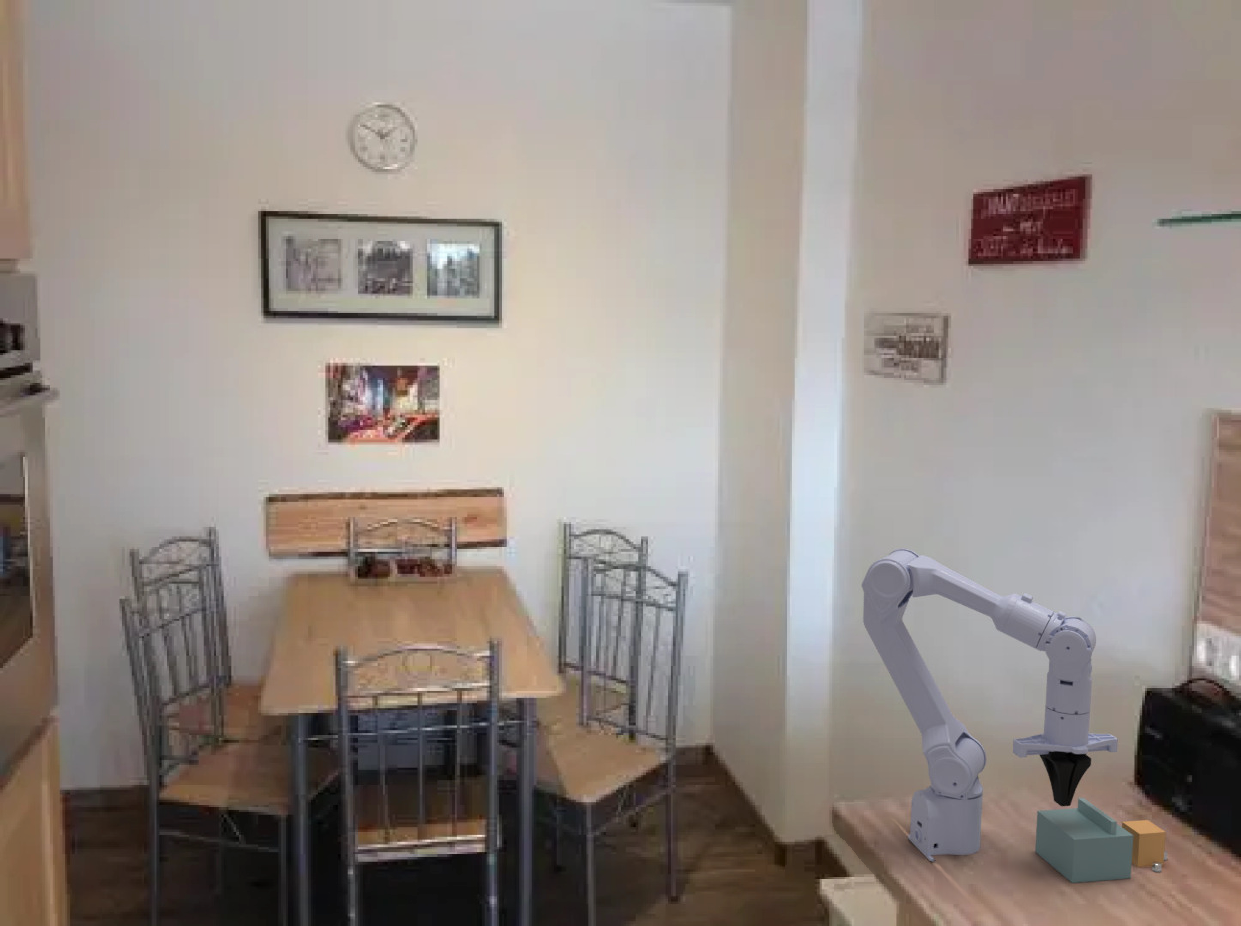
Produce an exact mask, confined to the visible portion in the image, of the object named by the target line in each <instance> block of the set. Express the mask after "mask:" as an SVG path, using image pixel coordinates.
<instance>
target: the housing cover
mask: <svg viewBox="0 0 1241 926" xmlns="http://www.w3.org/2000/svg"><path fill="white" fill-rule="evenodd" d="M1036 812H1037V813H1036V831H1035V832H1036V833H1035V848H1034V849H1035V850H1034V853H1036V854H1037V855H1039V857H1040V858H1041V859H1043V860H1044V861H1045V862H1046V863H1048V865H1050V866H1051V867H1053V868H1054V869H1055V870H1056V871H1057V872H1058V873H1059V874H1061V875H1062V876H1063V877H1064V878H1065V879H1066V880H1068V881H1069V882H1070V883H1072V884H1076V883H1088V882H1101V881H1115V880H1125V879H1126V880H1128V879H1131V876H1132V875H1131V873H1132V848H1133V835H1132V834H1131V833H1129V832H1128V831H1126V830H1125V829H1124V828H1122V825H1119V824H1118V821H1117V820H1115V819H1114V818H1113V817H1111V816H1110V815H1108V814H1107V813H1105V812H1104V811H1102V810H1101V809H1100V808H1099V807H1097V806H1096V805H1094V804H1093V803H1091V802H1090V801H1089V800H1087V799H1085V798H1084V797H1077V808H1076V807H1075V808H1072V807H1071V808H1059V809H1045V810H1037V811H1036Z"/></svg>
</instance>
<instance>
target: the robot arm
mask: <svg viewBox="0 0 1241 926" xmlns="http://www.w3.org/2000/svg"><path fill="white" fill-rule="evenodd" d="M861 588H862V591H863V617H862V619H863V621H862V622H863V625H864V628H865V630H866V631H867V633H868V635H869V637H870V639H871V642H872V643H873V645H874V646H875V649H876V651H877V652H878V655H879V656H880V658H881V660H882V662H883V664H884V666H885V667H886V670H887V671H888V673H889V675H890V677H891V679H892V681H893V683H894V684H895V687H896V688H897V690H898V692H899V694H900V696H901V698H902V699H903V702H904V703H905V705H906V708H907V709H908V711H909V713H910V715H911V717H912V719H913V721H914V722H915V725H916V726H917V728H918V730H919V732H920V734H921V745H922V746H921V747H922V753H923V755H924V757H925V759H926V760H925V761H926V763H927V766H928V769H927V770H928V771H927V773H928V778H929V780H930V785H929V786H928V787H926V788H923V789H920V790H919V789H918V790H916V791H914V793H913V794H912V798H911V806H910V807H911V808H910V827H909V828H910V830H909V831H910V832H909V834H908V835H907V839H908V840H909V841H910V842H911V843H912V844H913V845H914V846H915V847H916V848H917V849H918V850H919V851H920V852H921V853H922V854H923V855H924V856H925V857H926V858H927V859H928V861H930V862H937V860H936V859H935V858H934V856H939V855H956V856H957V855H958V856H967V855H973V854H976V853H978V852H979V851H980V850H981V836H982V814H983V813H982V811H983V795H984V793H983V792H984V787H983V785H982V784H981V781H980V778H979V774H980V773H982V772H983V770H984V769H985V767H986V765H987V752H986V750H985V748H984V746H983V745H982V743H981V742H980V741H979V740H977V739H976V738H975V737H974V736H972V735H971V733H970V732H969V731H968V730H967V727H966V726H965V725H966V724H964V723H963V722H961V721H960V720H959V719H957V718H956V717H954V715H953V713H952V711H951V709H950V708H949V705H948V704H947V702H946V700H945V698H944V695H943V694H942V692H941V691H940V688H939V686H938V685H937V682H936V681H935V679H934V677H933V676H932V674H931V671H930V670H929V667H928V666H927V664H926V662H925V661H924V658H923V657H922V655H921V653H920V651H919V650H918V647H917V645H916V644H915V642H914V640H913V639H912V636H911V635H910V633H909V630H908V628H907V627H906V625H905V623H904V621H903V617H904V615H905V611H906V610H907V607H908V604H909V601H910V598H911V597H912V598H919V597H926V596H932V595H938V596H941V597H943V598H946V599H947V600H950V601H952V602H954V603H958V604H960V605H962V606H963V607H966V608H969V609H971V610H973V611H976V612H977V613H979V614H982V615H985V616H987V617H989V618H990V619H992V622H993V624H994V626H995V629H996V630H997V631H998V632H1000V633H1002V634H1005V635H1007V636H1008V637H1010V638H1012V639H1015V640H1017V641H1019V642H1021V643H1023V644H1025V645H1027V646H1029V647H1031V648H1033V649H1036V650H1037V651H1039V652H1045V654H1046V656H1047V658H1048V672H1047V673H1046V689H1045V691H1046V692H1045V705H1044V706H1045V707H1044V723H1043V724H1044V725H1043V733H1039V734H1034V735H1031V736H1026V737H1023V738H1014V739H1013V741H1012V743H1013V744H1012V753H1013V754H1014V755H1015V756H1017V757H1019V758H1028V757H1027V756H1035V755H1036V756H1037V755H1039V757H1040V759H1041V761H1042V763H1043V766H1044V767H1045V770H1046V772H1047V774H1048V775H1047V776H1048V779H1049V782H1050V786H1051V789H1052V790H1051V791H1052V792H1051V793H1052V796H1053V797H1052V798H1053V802H1054V803H1056V804H1057V805H1059V806H1060V807H1070V806H1071V805H1072V801H1073V798H1074V796H1075V793H1076V791H1077V788H1078V785H1079V783H1080V781H1081V780H1082V778H1083V776H1084V775H1085V773H1086V772H1087V771H1088V769H1089V768H1090V767H1091V766H1092V757H1090V756H1089V755H1087V754H1088V753H1091V752H1106V751H1108V752H1109V753H1117V752H1118V746H1119V745H1118V744H1119V743H1118V740H1119V738H1117V737H1116V736H1115V735H1112V734H1110V733H1093V732H1092V733H1090V719H1091V716H1090V715H1091V704H1092V703H1091V701H1092V700H1091V699H1092V687H1093V685H1092V683H1093V677H1092V672H1093V665H1092V655H1093V652H1094V650H1095V648H1096V644H1097V636H1096V633H1095V631H1094V628H1093V627H1092V626H1091V625H1090V624H1089V623H1088V622H1086V621H1085V620H1083V619H1082V618H1081V617H1080V616H1074V615H1073V616H1072V615H1070V616H1067V613H1066V612H1063V611H1061V610H1059V611H1058V612H1056V611H1054V610H1052V609H1049V608H1047V607H1045V606H1043V605H1041V604H1039V603H1037V602H1035V601H1033V599H1034V596H1033V595H1030V594H1029V593H1027V592H1025V593H1023V594H1022V595H1020V594H1018V593H1013V592H1012V593H1011V594H1008V595H1003V596H1002V595H1000V594H998V593H996V592H994V591H992V590H990V589H989V588H987V587H985V586H984V585H981V584H979V583H977V582H975V581H974V580H972V579H970V578H967V577H966V576H964V575H962V574H960V573H958V572H956V571H955V570H953V569H950V568H949V567H947V566H945V565H944V564H941V563H940V562H938V561H937V560H935V559H934V558H931V557H929V556H926V555H923V554H921V555H919V554H918V553H917V552H915V551H913V550H911V549H907V548H898V549H895V550H892V551H891V552H890V553H889V554H887V556H885V557H882V558H880V559H877V560H875V561H874V562H872V563H871V565H870V566H869V568H868V570H867V572H866V574H865V575H864V578H863V579H862V583H861ZM935 844H936V846H935Z"/></svg>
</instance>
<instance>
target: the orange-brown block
mask: <svg viewBox="0 0 1241 926" xmlns="http://www.w3.org/2000/svg"><path fill="white" fill-rule="evenodd" d="M1121 827H1122V828H1124V829H1125V830H1126V831H1128V832H1129V833H1131V834H1132V835H1133V848H1132V863H1131V865H1132V864H1133V865H1134V866H1135V867H1136V868H1145V867H1152V862H1153V861H1157V862H1160V863H1161V864H1162V866H1164V863H1165V861H1164V850H1165V849H1166V848H1165V847H1166V830H1163V829H1162V828H1160V827H1159V826H1157V825H1156V824H1154V823H1153V822H1151V821H1150V820H1148V819H1144V820H1143V819H1142V820H1129V821H1121ZM1165 851H1166V850H1165Z"/></svg>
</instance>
